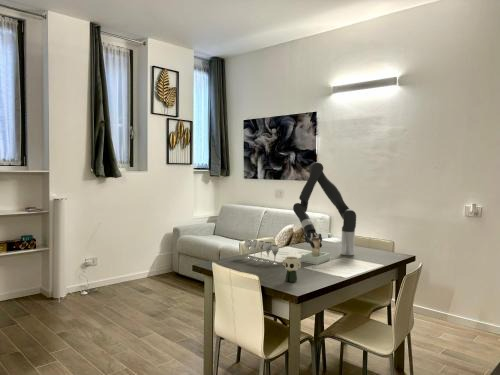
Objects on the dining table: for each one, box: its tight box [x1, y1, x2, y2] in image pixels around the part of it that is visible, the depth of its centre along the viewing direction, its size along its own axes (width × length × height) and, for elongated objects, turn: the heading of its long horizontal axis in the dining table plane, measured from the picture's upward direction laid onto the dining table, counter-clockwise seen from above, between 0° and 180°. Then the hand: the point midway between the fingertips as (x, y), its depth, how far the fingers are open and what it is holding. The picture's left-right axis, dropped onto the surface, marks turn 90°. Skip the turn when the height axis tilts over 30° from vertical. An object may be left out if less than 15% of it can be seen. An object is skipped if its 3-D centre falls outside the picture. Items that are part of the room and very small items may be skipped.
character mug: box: [282, 256, 302, 283], centre depth 218 cm, size 11×7×13 cm, turn 57°
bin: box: [300, 251, 331, 266], centre depth 269 cm, size 18×12×4 cm, turn 143°
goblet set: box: [244, 239, 280, 265], centre depth 266 cm, size 28×6×13 cm, turn 50°
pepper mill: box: [311, 237, 321, 256], centre depth 269 cm, size 5×5×12 cm
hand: (317, 247), depth 267 cm, fingers closed on pepper mill, 5 cm apart
